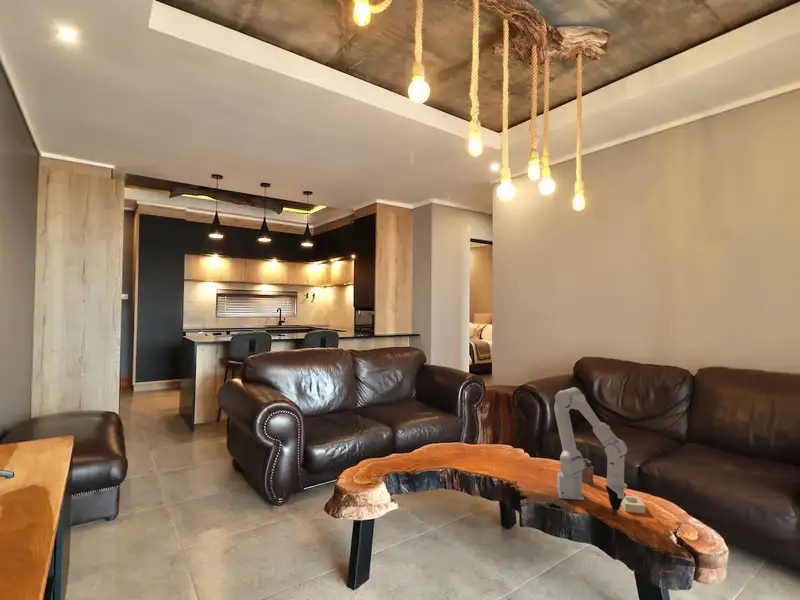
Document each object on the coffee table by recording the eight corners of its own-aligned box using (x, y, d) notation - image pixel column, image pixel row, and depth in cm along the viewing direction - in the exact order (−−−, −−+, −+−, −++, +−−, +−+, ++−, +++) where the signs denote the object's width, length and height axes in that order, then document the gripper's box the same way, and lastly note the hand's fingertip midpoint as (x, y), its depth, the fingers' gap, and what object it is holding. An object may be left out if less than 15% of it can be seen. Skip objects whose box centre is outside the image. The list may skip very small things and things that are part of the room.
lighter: (595, 483, 185) (595, 461, 184) (590, 485, 183) (590, 463, 182) (579, 476, 192) (579, 454, 191) (574, 478, 190) (574, 456, 189)
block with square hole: (625, 511, 162) (625, 504, 162) (619, 502, 169) (619, 494, 169) (645, 513, 161) (645, 505, 161) (638, 503, 168) (638, 496, 168)
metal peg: (612, 514, 160) (612, 492, 160) (610, 511, 162) (611, 490, 162) (618, 515, 160) (618, 493, 159) (616, 512, 162) (617, 490, 161)
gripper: (633, 482, 152) (632, 519, 153) (620, 465, 166) (620, 498, 167) (612, 480, 154) (611, 517, 154) (601, 463, 168) (600, 497, 168)
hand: (614, 507), depth 161 cm, fingers closed on metal peg, 2 cm apart
